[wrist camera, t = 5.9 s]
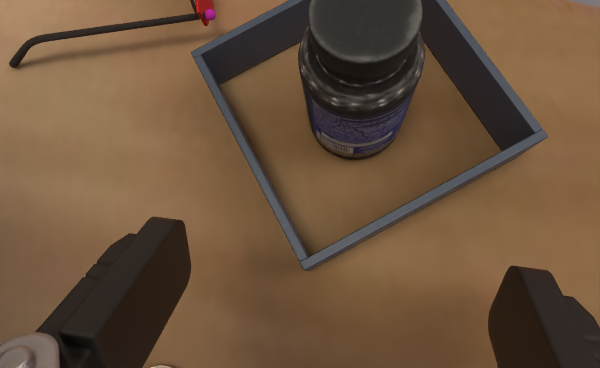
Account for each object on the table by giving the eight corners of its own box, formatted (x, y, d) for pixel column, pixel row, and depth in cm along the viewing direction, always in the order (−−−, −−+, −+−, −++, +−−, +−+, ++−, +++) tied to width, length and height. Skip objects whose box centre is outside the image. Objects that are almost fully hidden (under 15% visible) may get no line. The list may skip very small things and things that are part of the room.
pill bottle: (418, 133, 26) (474, 32, 15) (337, 178, 26) (338, 108, 15) (369, 61, 27) (389, -76, 17) (292, 103, 27) (264, -8, 17)
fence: (210, 82, 28) (190, 51, 24) (392, -14, 29) (401, -60, 25) (309, 271, 25) (303, 270, 21) (515, 157, 25) (549, 136, 21)
